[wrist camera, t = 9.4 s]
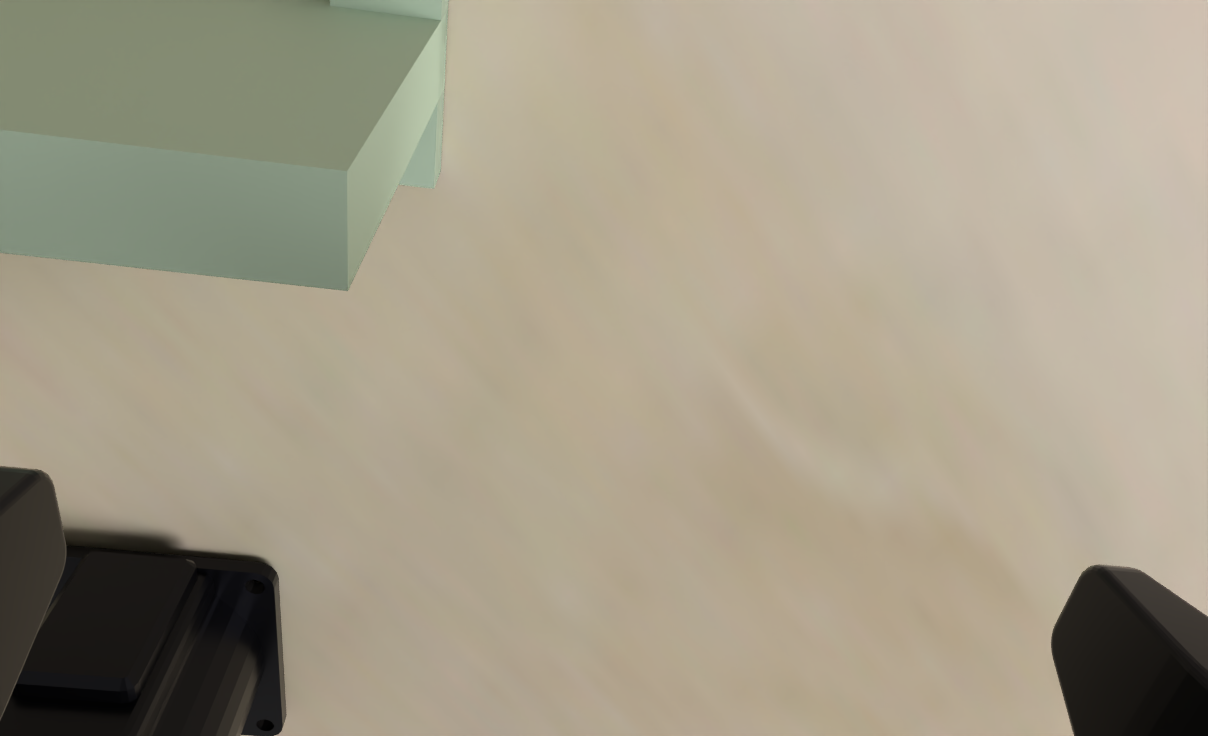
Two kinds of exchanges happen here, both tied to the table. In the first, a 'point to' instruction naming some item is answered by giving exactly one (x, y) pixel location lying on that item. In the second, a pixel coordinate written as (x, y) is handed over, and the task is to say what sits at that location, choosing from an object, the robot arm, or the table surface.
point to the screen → (216, 131)
